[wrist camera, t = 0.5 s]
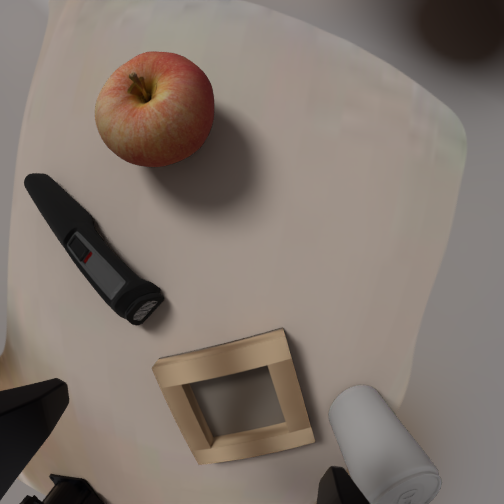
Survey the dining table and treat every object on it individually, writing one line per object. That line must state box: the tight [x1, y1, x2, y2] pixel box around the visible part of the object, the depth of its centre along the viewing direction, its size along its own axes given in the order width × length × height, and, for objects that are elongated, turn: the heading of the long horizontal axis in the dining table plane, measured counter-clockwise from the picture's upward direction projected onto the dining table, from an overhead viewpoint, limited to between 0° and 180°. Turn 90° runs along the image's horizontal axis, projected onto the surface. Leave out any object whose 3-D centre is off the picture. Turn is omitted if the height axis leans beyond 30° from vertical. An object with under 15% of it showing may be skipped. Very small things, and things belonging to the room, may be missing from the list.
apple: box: [95, 52, 214, 167], centre depth 17 cm, size 8×8×8 cm
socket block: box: [152, 328, 315, 465], centre depth 22 cm, size 10×10×2 cm
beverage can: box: [328, 385, 442, 504], centre depth 16 cm, size 5×5×12 cm
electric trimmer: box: [24, 173, 164, 325], centre depth 21 cm, size 4×16×3 cm, turn 46°
